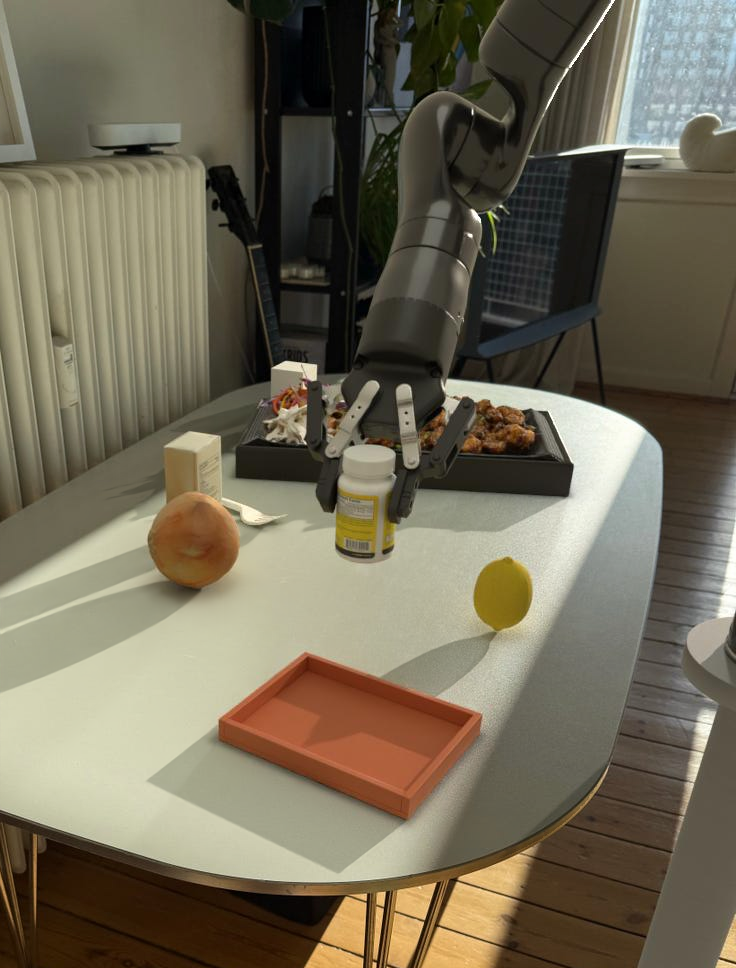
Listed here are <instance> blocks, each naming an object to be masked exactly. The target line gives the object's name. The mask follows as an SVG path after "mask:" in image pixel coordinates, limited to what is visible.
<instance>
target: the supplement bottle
mask: <svg viewBox="0 0 736 968" xmlns="http://www.w3.org/2000/svg"><path fill="white" fill-rule="evenodd" d="M395 458H396V454H395V452H394V451H393V450H392V449H390V448H387V447H384V446H379V445H356V446H352V447H349V448H347V449H346V450H345V451H344V455H343V464H342V466H343V471H344V473H342V474H341V475H340V476H339V479H338V483H337V504H336V507H335V535H334V537H335V540H334V541H335V542H334V551H335V553H336V555H337V556H338V557H340V558H342V559H343V560H345V561H348V562H350V563H355V564H360V565H361V564H362V565H368V564H369V565H370V564H376V563H381V562H385V561H387V560H389V559H390V558H392V556H393V554H394V552H395V542H396V541H395V540H396V528H397V524H394V523H390V522H389V519H388V516H387V510H388V506H389V502H390V499H391V495H392V491H393V488H394V484H395V480H396V476H395V475H394V474H393V473H394V471H395Z"/></svg>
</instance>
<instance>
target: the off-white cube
mask: <svg viewBox="0 0 736 968" xmlns="http://www.w3.org/2000/svg"><path fill="white" fill-rule="evenodd" d="M301 364H302V366H303V369H304V371H305V373H304V371H303V369H302V367H301ZM305 374H306V376H307V378H308V379H310V380H312V381H318V380H317V379H318V378H317V377H318V364H314V363H305V362H297V361H290V360H285V361H282V362H281V363H279V364H277V365H275V366H273V367H270V398H272V397H274V396H276V395H280V394H281V393H282V392H283V391H280V389H279V388H281V389H283V390H286V389H288V388H290V384H289V382H290V383H291V385H293V386H298V387H301V388H302V389H307V388H306V387H305V385H304V382H303V381H301V380H300V379H299V378H300V377H301V378H306V376H305ZM288 381H289V382H288ZM299 383H301V386H299ZM294 388H295V390H296V391H298V388H297V387H294ZM284 397H285V396H284Z"/></svg>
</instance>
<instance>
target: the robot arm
mask: <svg viewBox="0 0 736 968" xmlns="http://www.w3.org/2000/svg"><path fill="white" fill-rule="evenodd" d="M614 1H615V0H504V1H503V3H502V4H501V6H500V7H499V9H498V11H497V13H496V16H494V18H493V19H492V21H491V23H490V24H489V26H488V27H487V30H486V32H485V33H484V36H482V38H481V40H480V43H479V46H478V52H477V53H478V54H477V57H478V61H479V63H480V65H481V67H482V68H483V70H484V71H485V72H486V73H487V75H488V76H489V77H490V78H491V79H492V80H493V81H494V82H495V83H496V84H497V85H498V86H499V88H501V89H502V90H503V92H504V93H505V94H506V95H507V97H508V104H507V108H506V111H505V114H504V116H503V117H502V119H501V120H500V119H498V118H496V117H495V116H493V115H492V114H490V113H488V112H487V111H485V110H483V109H482V108H480V107H478V106H477V105H475V104H473V103H472V102H470V101H469V100H467V99H466V98H464V97H462V96H461V95H459V94H457V93H455V92H451V91H446V90H441V91H436V92H434V93H431V94H429V95H427V96H426V97H424V98H423V99H421V101H419V103H417V105H416V106H415V107H414V108H413V109H412V111H411V113H410V114H409V116H408V118H407V120H406V122H405V124H404V127H403V130H402V133H401V136H400V141H399V145H398V153H397V188H398V189H397V194H398V195H397V196H398V197H397V198H398V199H397V200H398V201H397V225H396V229H395V232H394V236H393V240H392V244H391V246H390V250H389V253H388V257H387V260H386V263H385V264H384V268H383V271H382V272H381V275H380V276H379V279H378V281H377V283H376V286H375V289H374V293H373V296H372V299H371V302H370V305H369V310H368V313H367V316H366V319H365V322H364V326H363V329H362V333H361V337H360V340H359V343H358V346H357V350H356V353H355V355H354V356H355V357H354V360H353V365H352V369H351V370H350V372H349V374H348V375H346V377H345V378H344V379H343V380H342V382H341V383H340V384H333V385H331V384H330V386H322V385H323V384H322V382H321V381H319V380H316V381H312V382H311V383H309V385H308V388H307V420H306V444H307V446H308V448H309V450H310V452H311V454H312V456H313V458H314V460H316V461H322V462H323V466H322V470H321V473H320V477H319V480H318V482H317V484H316V487H315V490H314V491H315V497H316V500H317V501H318V503H319V506H320V508H321V509H322V511H323V513H327V514H334V512H335V511H336V507H337V483H338V479H339V476H340V475H341V474H342V473H344V471H343V466H342V464H343V455H344V451H345V450H346V449H347V448H349V447H352V446H356V445H364V444H365V443H366V441H367V440H368V438H371V439H379V438H386V439H389V440H391V441H394V442H401V443H402V451H403V461H404V465H403V469H399V470H398V473H397V477H396V480H395V484H394V488H393V491H392V495H391V499H390V502H389V506H388V510H387V516H388V519H389V522H390V523H394V524H396V525H400V524H401V521H402V518H403V519H408V518H409V517H410V514H412V510H413V507H414V503H415V499H416V495H417V492H418V489H419V488H418V485H419V483H420V481H421V480H423V479H424V478H427V477H433V476H434V477H435V478H438V479H441V478H443V477H445V476H446V475H447V473H448V471H449V470H450V468H451V466H452V464H453V463H454V461H455V459H456V457H457V456H458V454H459V452H460V450H461V449H462V447H463V445H464V443H465V441H466V440H467V438H468V436H469V434H470V433H471V431H472V429H473V427H474V426H475V424H476V422H477V418H476V407H475V402H476V401H475V400H474V399H473V398H471V397H469V398H464V399H462V398H461V399H462V400H461V401H459V400H456V399H454V398H451V397H450V396H449V397H448V396H446V394H447V391H446V384H447V380H448V376H449V373H450V369H451V365H452V362H453V360H454V359H453V358H454V354H455V351H456V347H457V344H458V339H459V337H460V333H462V330H463V325H464V323H465V320H464V319H465V318H464V317H465V314H466V310H467V306H468V305H467V304H468V297H469V296H468V295H469V288H470V284H471V281H472V276H473V273H474V269H475V265H476V262H477V257H478V254H479V251H480V246H481V242H482V237H483V225H482V221H481V218H480V216H479V215H482V214H488V213H489V212H491V211H493V210H495V209H497V208H498V207H500V206H501V205H502V204H504V203H505V202H506V201H507V199H508V198H510V196H511V195H512V193H513V192H514V190H515V188H516V187H517V185H518V183H519V180H520V178H521V176H522V173H523V170H524V168H525V166H526V162H527V159H528V157H529V154H530V151H531V149H532V145H533V143H534V141H535V138H536V135H537V133H538V130H539V127H540V126H541V123H542V121H543V118H544V116H545V113H546V111H547V109H548V107H549V105H550V103H551V101H552V99H553V97H554V95H555V93H556V91H557V89H558V88H559V87H558V86H559V85H560V83H562V80H563V79H564V77H565V76H566V74H567V73H568V71H569V70H570V69H569V68H571V67H572V65H573V64H574V62H575V61H576V60H577V58H578V57H579V55H580V53H581V52H582V50H583V49H584V47H585V46H586V45H587V43H588V42H589V40H590V39H591V37H592V35H593V33H594V32H595V31H596V29H597V28H598V27H599V25H600V23H601V22H602V21H603V19H604V17H605V15H606V14H607V12H608V11H609V9H610V8H611V6H612V4H613V3H614ZM338 402H345V403H346V406H347V408H348V410H349V411H348V412H347V414H346V415H345V417H344V418H343V419H342V421H341V422H340V424H339V429H338V431H337V433H336V434H335V436H334V437H333V439H332V440H331V441H330V443H329V442H327V437H328V414H329V415H331V414H333V412H334V411H335V409H336V405H337V403H338ZM442 412H444V413H445V415H444V421H445V425H446V427H445V428H444V430H443V432H442V434H441V435H440V437H439V439H438V441H437V442H436V444H435V446H434V448H433V449H432V451H431V453H430V454H428V455H422V456H421V445H420V435H419V431H421V430H422V429H423V428H424V427H425V426H427V425H428V424H429V423H430V422H431V421H432V420H434V419H435V418H436V417H437V416H438V415H440V414H441V413H442ZM732 617H733V621H732V623H731V625H730V629H729V634H728V635H727V637H726V640H725V643H724V650H725V653H726V654H727V656H728V657H729V658H730V659H731V660H732V661H733V662H734V663H735V664H736V610H735V611H734V614H733V616H732Z"/></svg>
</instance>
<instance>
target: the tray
mask: <svg viewBox="0 0 736 968" xmlns="http://www.w3.org/2000/svg"><path fill="white" fill-rule="evenodd" d="M482 721H483V713H481V712H478V711H475V710H472V709H470V708H467V707H464V706H461V705H458V704H455V703H452V702H449V701H447V700H443V699H441V698H438V697H436V696H432V695H430V694H426V693H424V692H421V691H419V690H416V689H413V688H410V687H407V686H404V685H402V684H398V683H396V682H394V681H393V682H392V681H390V680H387V679H385V678H382V677H378V676H376V675H372V674H370V673H366V672H364V671H362V670H358V669H356V668H353V667H350V666H347V665H344V664H341V663H338V662H337V661H333V660H330V659H327V658H324V657H321V656H318V655H316V654H313V653H310V652H307V651H305V652H303V653H301V654H300V655H299V656H298V657H297V658H295V659H294V660H293V661H292V662H290V663H289V664H287V665H286V666H284V668H283V669H281V670H280V671H279V672H277V673H276V674H275V675H274V676H272V677H271V678H269V679H268V680H266V682H264V683H263V684H262V685H260V686H259V687H258V688H257V689H256V690H254V691H253V692H251V693H250V694H249V695H248V696H247V697H245V698H244V699H243V700H241V701H240V702H238V703H237V704H235V706H233V707H232V708H231V709H230V710H229V711H227V712H226V713H225V714H224V715H222V716H220V717H219V718H218V720H217V722H218V723H217V724H218V740H220V741H222V742H223V743H226V744H228V745H231V746H233V747H236V748H238V749H241V750H243V751H245V752H247V753H250V754H253V755H255V756H257V757H259V758H261V759H264V760H266V761H268V762H271V763H273V764H275V765H278V766H280V767H281V768H284V769H287V770H290V771H292V772H294V773H296V774H299V775H301V776H303V777H306V778H308V779H311V780H313V781H315V782H317V783H319V784H322V785H324V786H327V787H329V788H331V789H333V790H335V791H338V792H340V793H343V794H345V795H348V796H350V797H353V798H354V799H357V800H358V801H362V802H364V803H366V804H369V805H371V806H373V807H376V808H378V809H380V810H381V811H382V810H383V811H385V812H387V813H388V814H389V813H390V814H391V815H393V816H397V817H398V818H402V819H404V820H405V821H408V820H409V819H410V818H411V816H412V815H413V814H414V813H415V811H417V809H418V808H419V807H420V806H421V805H422V803H423V802H424V801H425V800H426V798H427V797H428V796H429V795H430V794H431V792H433V790H434V789H435V788H436V787H437V785H439V783H440V782H441V781H442V779H443V778H444V777H445V776H446V775H447V774H448V772H449V771H450V770H451V769H452V768H453V766H454V765H455V764H456V763H457V761H458V760H459V759H460V758H461V757H462V756H463V754H465V752H466V751H467V750H468V749H469V747H470V746H471V744H472V743H474V741H475V740H476V739H477V738H478V736H479V735H480V734H481V727H482Z"/></svg>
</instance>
